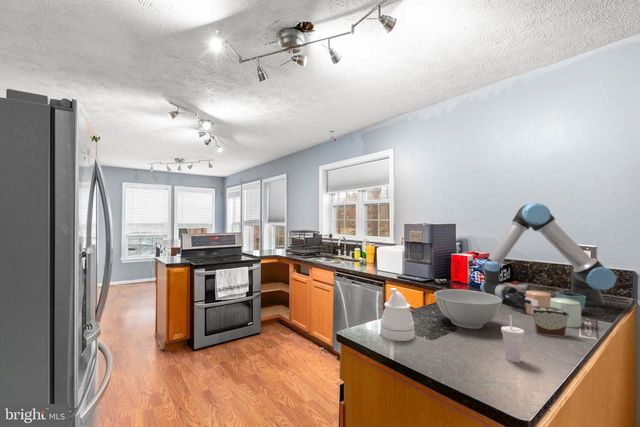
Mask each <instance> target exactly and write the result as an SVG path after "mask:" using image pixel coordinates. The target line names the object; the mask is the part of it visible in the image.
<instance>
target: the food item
mask: <svg viewBox="0 0 640 427" xmlns="http://www.w3.org/2000/svg"><path fill="white" fill-rule="evenodd" d="M501 285H506V286H510V287H514V288H516V289H517V291H518V292H523V293H524V292H526V291H530V285H529V284H525V283H524V284H523V283H520V282H519V281H517V280H513V281H511V282H503V283H502V284H501Z"/></svg>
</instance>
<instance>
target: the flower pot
mask: <svg viewBox="0 0 640 427" xmlns="http://www.w3.org/2000/svg"><path fill="white" fill-rule="evenodd" d="M555 298H566V299H572V300H576V301H579V302H580V305H581V313H582V312H583V310H584V309H585V306H586V305H585V301H586V297H585V296H582V295H579V294H575V293H570V292H562V291H561V292H560V291H558V292H557V291H556V292H555Z"/></svg>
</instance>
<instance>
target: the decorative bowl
mask: <svg viewBox="0 0 640 427" xmlns="http://www.w3.org/2000/svg"><path fill="white" fill-rule="evenodd" d="M433 295H434V296H433V297H434V300H435V302H436V304H437V307H438V308H439V310H440V311H441V312H442V314H443V315H444V316H445V317H446V318H447V319H449V320H450V322H451V324H453V325H455V326H457V327H460V328H463V329H471V330H472V329H475V330H476V329H482V328H483V326H484V325H485V324H488V323H489V322H491V321H492V320H493V319H494V318H495V317H496V316H497V315H498V313H499V311H501V307H502V304H503V300H502V299H501V298H500V297H498V296H495V295H492V294H488V293H484V292H482V291H478V290H470V289H469V290H468V289H460V288H459V289H440V290H436V291H435V292H434V293H433Z"/></svg>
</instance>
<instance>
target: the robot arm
mask: <svg viewBox="0 0 640 427" xmlns="http://www.w3.org/2000/svg"><path fill="white" fill-rule="evenodd" d="M530 228H531V229H532V231H534V232H538V233H540V234H541V235H542V236H543V237H544V238H545V239H546V240H547V241H548V242H549V243H550V244H551V246H553V247H554V248H555V249H556V250H557V252H558V253H560V254H561V255H562V257H563V258H565V259H566V261H567V262H568V263H569V264H570V270H571V272H570V274H571V288H570V290H569V293H575V294H579V295H582V296H585V297H586V301H585V306H592V307H603V306H604V305H605V300H604V298H603V295H602V293H601V291H606V290H609V289H611V288H613V286H615V284H616V280H617V277H616V274H615V273H614V272H613V271H612V270H611V269H610V268H608V267H605V266H604V265H603V264H602V263H601V262H600V261H599V259H598V258H593V257H590V256H589V255H588V254H587V253H586V251H584V250H583V249H582V248H581V247H580V246H579V245H578V244H577V243H576V242H575V241H574V240H573V239H572V238H571V237H570V236H569V234H567V233H566V231H564V230H563V229H562V227H560V226H559V225H558V223H556V217H555V216H554V215H553V214H552V213H551V210H550V209H549V207H548V206H547V205H545V204H543V203H539V202H531V203H529V204H525V205H522V206H521V207H520V208H519V209H518V211H517V212H516V214H515V215H514V218H512V220H511V225H510V227H508V229H507V231H506V232H505V233H504V235H503V236H502V238H501V239H500V241H499V242H498V243H497V245H496V246H495V248H494V249H493V250H492V252H491V254H489V256H488V257H487V259H486V260H485V261H484V262H483V263H482V264H481V271H482V273H483V274H484V281H482V282H481V284H480V292H484V293H488V294H492V295H495V296H498V297H500V298H501V299H502V301H503V300H506V301H509V302H515V303H517V304H520V303H521V305H522V306H524V305H526V304H528V305H532V306H539V301H536V300H532V299H528V298H525V293H526V292H524V293H523V292H518V291H517V289H516V288H514V287H510V286H506V285H502V284H501V280H500V279H501V278H500V275H501V274H500V272H501V267H500V266H501V264H502V263H503V262H504V260H505V259H506V258H507V256H508V254H510V252H511V251H512V249H513V248H514V247H515V245H516V244H517V243H518V241H519V240H520V238H521V237H522V235H523V234H524V233H525V231H529V229H530Z"/></svg>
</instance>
